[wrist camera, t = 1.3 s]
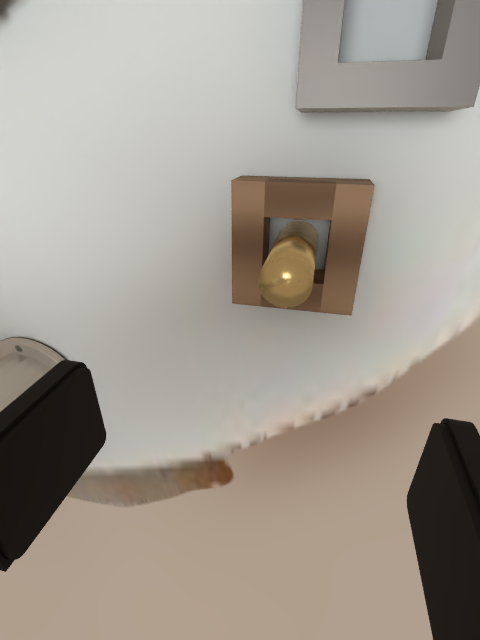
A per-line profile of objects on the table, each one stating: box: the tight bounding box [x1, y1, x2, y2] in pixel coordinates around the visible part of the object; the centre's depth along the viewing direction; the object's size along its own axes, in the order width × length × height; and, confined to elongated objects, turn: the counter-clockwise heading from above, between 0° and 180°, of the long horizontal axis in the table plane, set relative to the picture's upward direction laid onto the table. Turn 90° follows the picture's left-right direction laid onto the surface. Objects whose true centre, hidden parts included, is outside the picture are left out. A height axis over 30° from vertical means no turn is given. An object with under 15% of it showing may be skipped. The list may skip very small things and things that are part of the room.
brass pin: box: [258, 220, 318, 308], centre depth 23 cm, size 3×3×9 cm
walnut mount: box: [231, 176, 374, 315], centre depth 25 cm, size 9×9×3 cm
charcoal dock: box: [296, 0, 480, 112], centre depth 18 cm, size 9×9×4 cm
